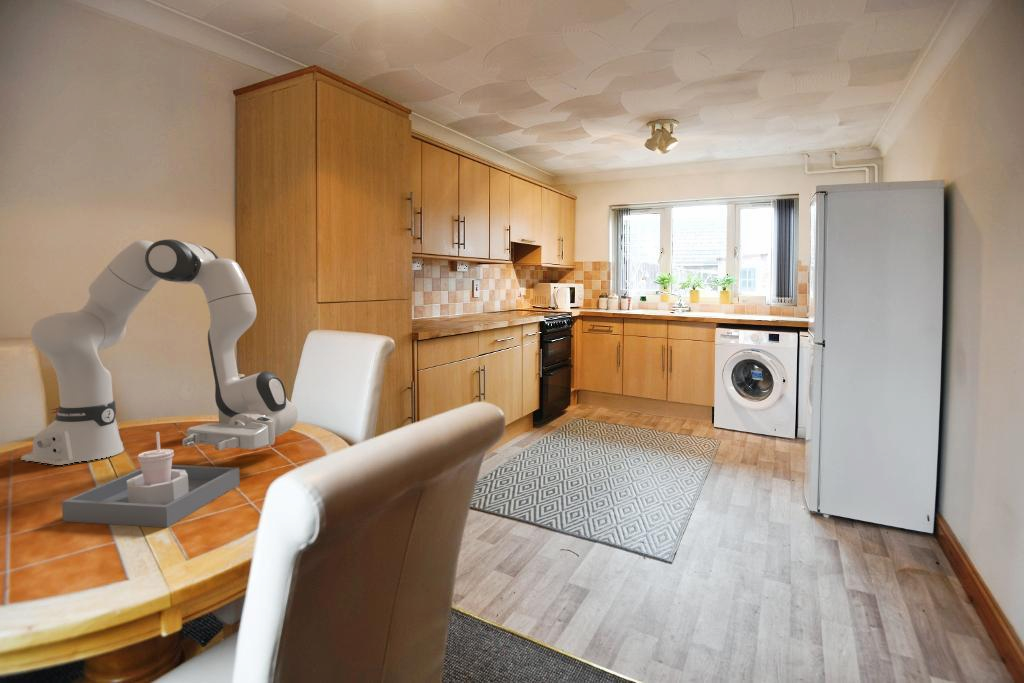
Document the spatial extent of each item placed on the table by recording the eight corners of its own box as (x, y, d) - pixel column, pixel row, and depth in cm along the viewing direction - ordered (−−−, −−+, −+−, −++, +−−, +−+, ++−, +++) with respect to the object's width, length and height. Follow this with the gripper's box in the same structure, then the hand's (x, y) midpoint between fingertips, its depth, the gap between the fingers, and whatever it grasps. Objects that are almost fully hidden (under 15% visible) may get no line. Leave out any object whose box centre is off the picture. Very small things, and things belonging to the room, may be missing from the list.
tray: (63, 521, 101) (61, 495, 100) (152, 480, 123) (151, 458, 122) (167, 527, 99) (165, 501, 98) (239, 484, 120) (238, 462, 120)
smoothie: (179, 497, 109) (174, 432, 109) (142, 505, 105) (137, 438, 104) (174, 490, 114) (170, 427, 113) (138, 497, 110) (134, 432, 109)
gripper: (213, 414, 136) (165, 427, 123) (278, 420, 130) (235, 435, 117) (214, 438, 137) (166, 453, 123) (279, 444, 131) (236, 462, 118)
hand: (200, 444), depth 120 cm, fingers open, 8 cm apart
